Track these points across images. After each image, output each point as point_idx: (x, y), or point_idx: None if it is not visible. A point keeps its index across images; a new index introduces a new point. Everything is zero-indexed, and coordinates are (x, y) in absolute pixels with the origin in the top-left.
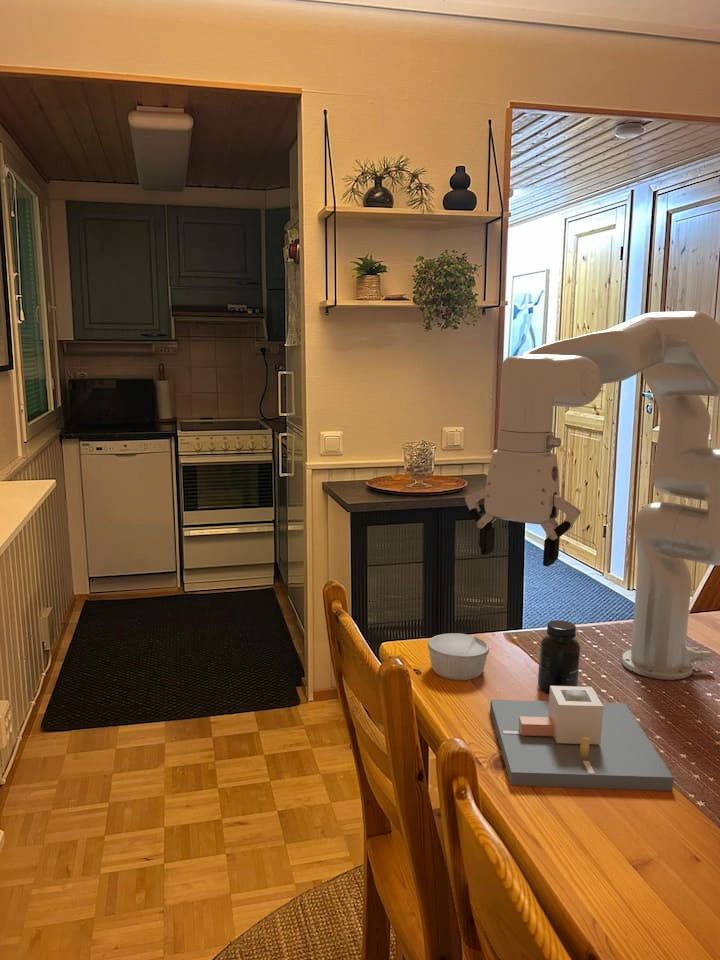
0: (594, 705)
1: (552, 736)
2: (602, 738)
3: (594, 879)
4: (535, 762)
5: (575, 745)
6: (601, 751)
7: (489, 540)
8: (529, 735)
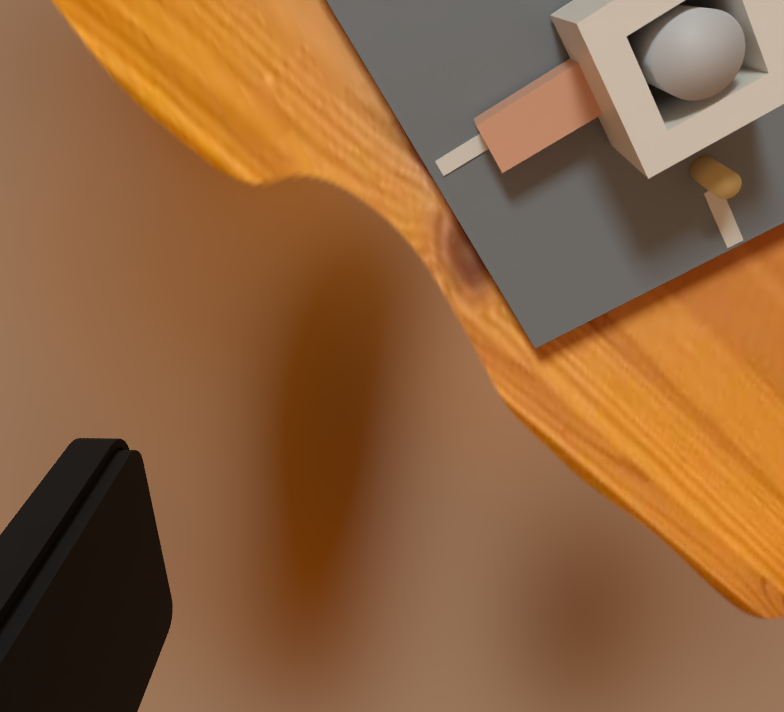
0: (780, 100)
1: None
2: None
3: (757, 506)
4: (577, 272)
5: None
6: None
7: (100, 678)
8: None
